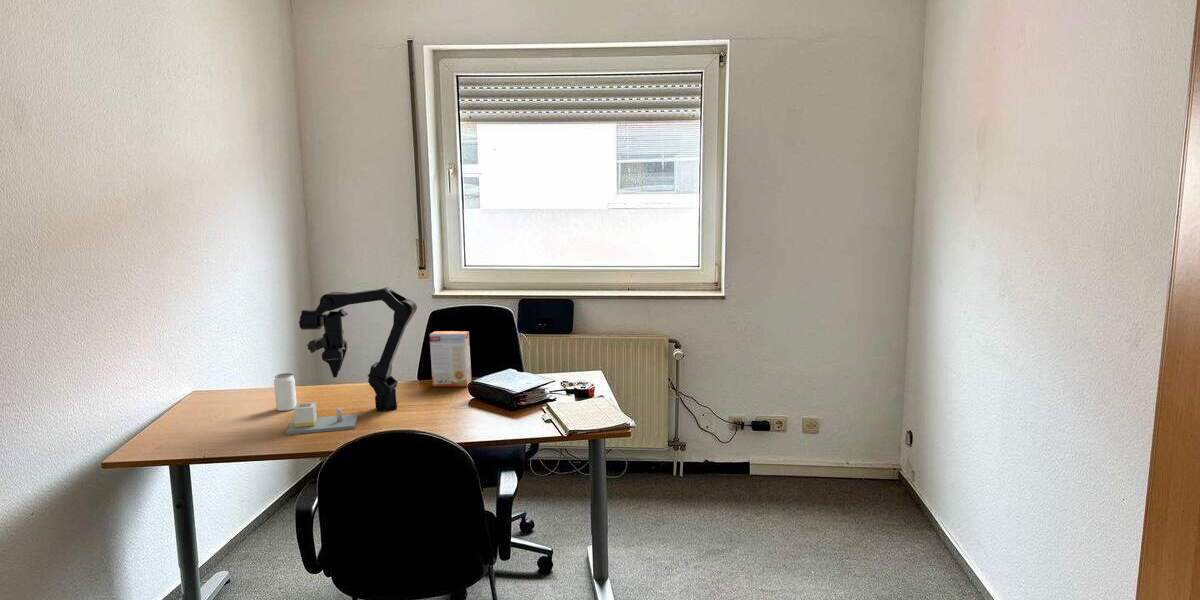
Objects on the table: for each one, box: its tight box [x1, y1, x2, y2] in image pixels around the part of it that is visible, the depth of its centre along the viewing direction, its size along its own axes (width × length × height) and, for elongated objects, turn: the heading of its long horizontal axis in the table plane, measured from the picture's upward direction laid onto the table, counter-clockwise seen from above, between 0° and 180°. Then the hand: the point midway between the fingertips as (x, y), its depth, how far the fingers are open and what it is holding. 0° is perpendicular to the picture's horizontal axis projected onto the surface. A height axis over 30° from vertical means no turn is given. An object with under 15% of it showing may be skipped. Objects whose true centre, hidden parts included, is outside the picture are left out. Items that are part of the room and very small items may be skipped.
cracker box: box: [429, 330, 472, 388], centre depth 258 cm, size 14×6×21 cm, turn 83°
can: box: [273, 372, 298, 412], centre depth 232 cm, size 6×6×12 cm
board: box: [285, 407, 359, 436], centre depth 215 cm, size 20×12×5 cm, turn 105°
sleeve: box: [293, 401, 318, 427], centre depth 213 cm, size 6×6×6 cm
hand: (336, 373), depth 230 cm, fingers open, 9 cm apart
